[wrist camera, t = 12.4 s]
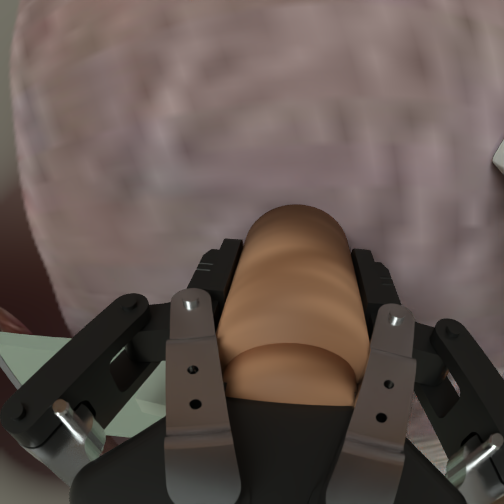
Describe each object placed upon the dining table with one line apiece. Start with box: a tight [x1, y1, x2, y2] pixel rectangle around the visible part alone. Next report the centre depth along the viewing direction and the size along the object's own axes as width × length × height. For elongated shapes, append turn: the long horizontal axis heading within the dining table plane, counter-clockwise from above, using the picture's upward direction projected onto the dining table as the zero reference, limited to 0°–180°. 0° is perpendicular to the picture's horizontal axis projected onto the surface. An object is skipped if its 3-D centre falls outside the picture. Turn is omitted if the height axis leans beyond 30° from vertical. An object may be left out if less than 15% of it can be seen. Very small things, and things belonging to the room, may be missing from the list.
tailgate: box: [0, 332, 163, 437], centre depth 16 cm, size 1×10×11 cm
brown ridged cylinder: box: [216, 205, 370, 406], centre depth 10 cm, size 5×5×8 cm
